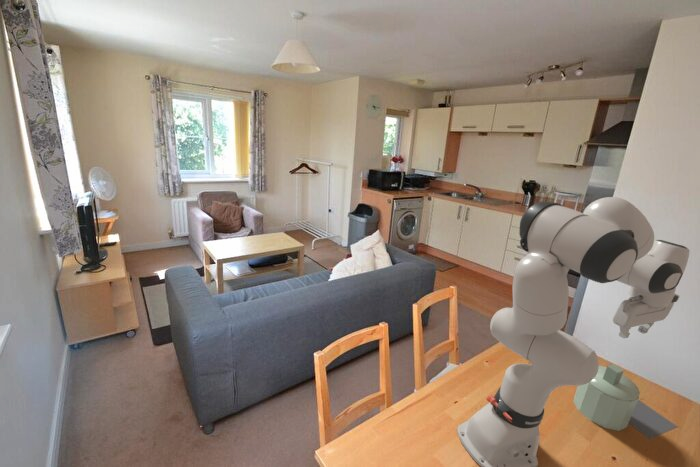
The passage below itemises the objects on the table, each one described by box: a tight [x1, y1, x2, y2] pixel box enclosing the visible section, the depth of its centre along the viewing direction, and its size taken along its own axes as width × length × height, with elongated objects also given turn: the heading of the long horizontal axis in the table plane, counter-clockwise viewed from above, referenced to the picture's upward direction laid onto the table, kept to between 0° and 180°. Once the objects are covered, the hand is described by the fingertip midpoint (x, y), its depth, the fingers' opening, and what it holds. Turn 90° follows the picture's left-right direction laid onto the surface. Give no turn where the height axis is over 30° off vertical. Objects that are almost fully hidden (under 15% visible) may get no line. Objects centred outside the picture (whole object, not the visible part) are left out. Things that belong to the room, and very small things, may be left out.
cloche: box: [573, 363, 641, 432], centre depth 103 cm, size 14×14×18 cm
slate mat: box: [628, 399, 678, 440], centre depth 106 cm, size 15×15×1 cm
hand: (632, 334), depth 96 cm, fingers open, 8 cm apart
